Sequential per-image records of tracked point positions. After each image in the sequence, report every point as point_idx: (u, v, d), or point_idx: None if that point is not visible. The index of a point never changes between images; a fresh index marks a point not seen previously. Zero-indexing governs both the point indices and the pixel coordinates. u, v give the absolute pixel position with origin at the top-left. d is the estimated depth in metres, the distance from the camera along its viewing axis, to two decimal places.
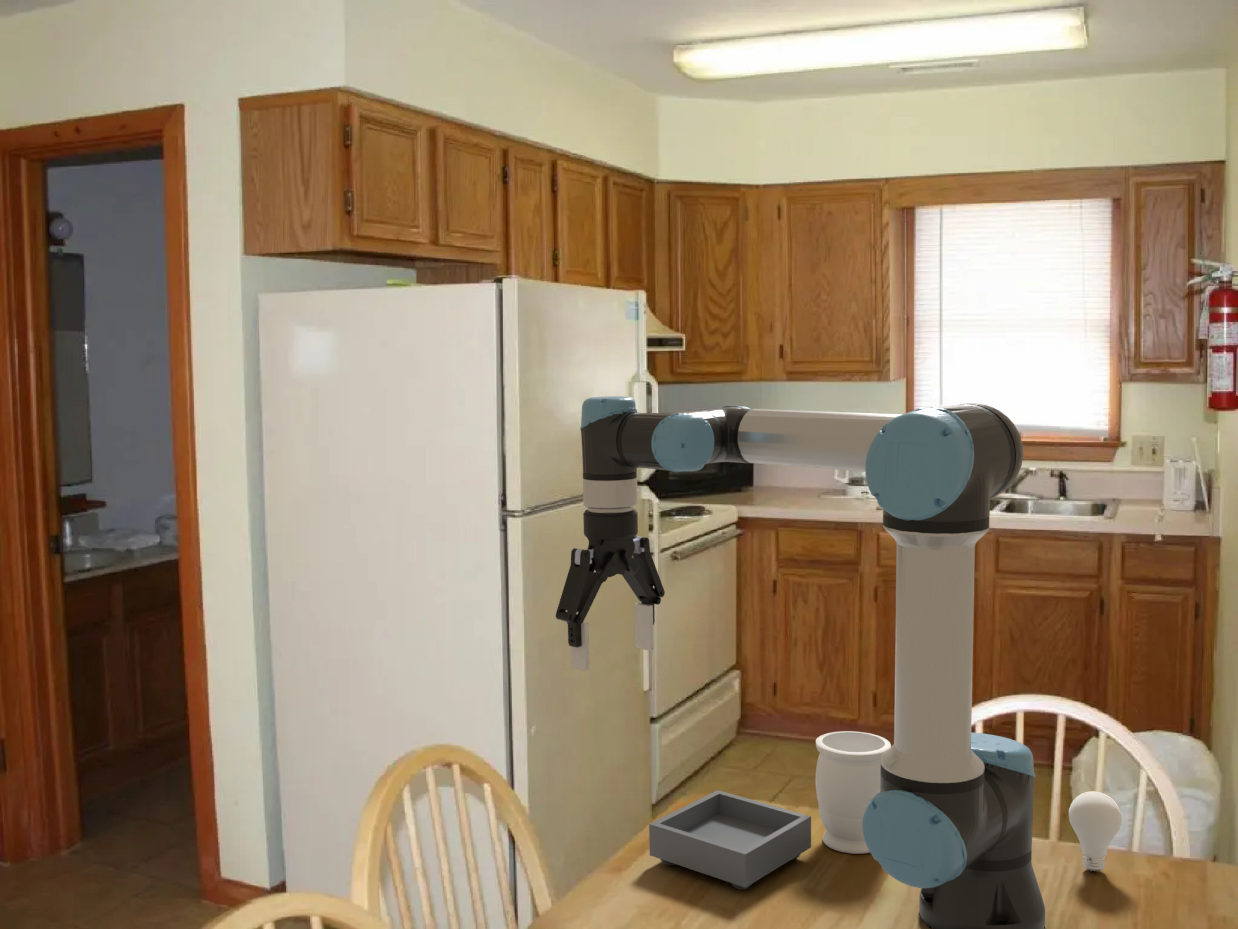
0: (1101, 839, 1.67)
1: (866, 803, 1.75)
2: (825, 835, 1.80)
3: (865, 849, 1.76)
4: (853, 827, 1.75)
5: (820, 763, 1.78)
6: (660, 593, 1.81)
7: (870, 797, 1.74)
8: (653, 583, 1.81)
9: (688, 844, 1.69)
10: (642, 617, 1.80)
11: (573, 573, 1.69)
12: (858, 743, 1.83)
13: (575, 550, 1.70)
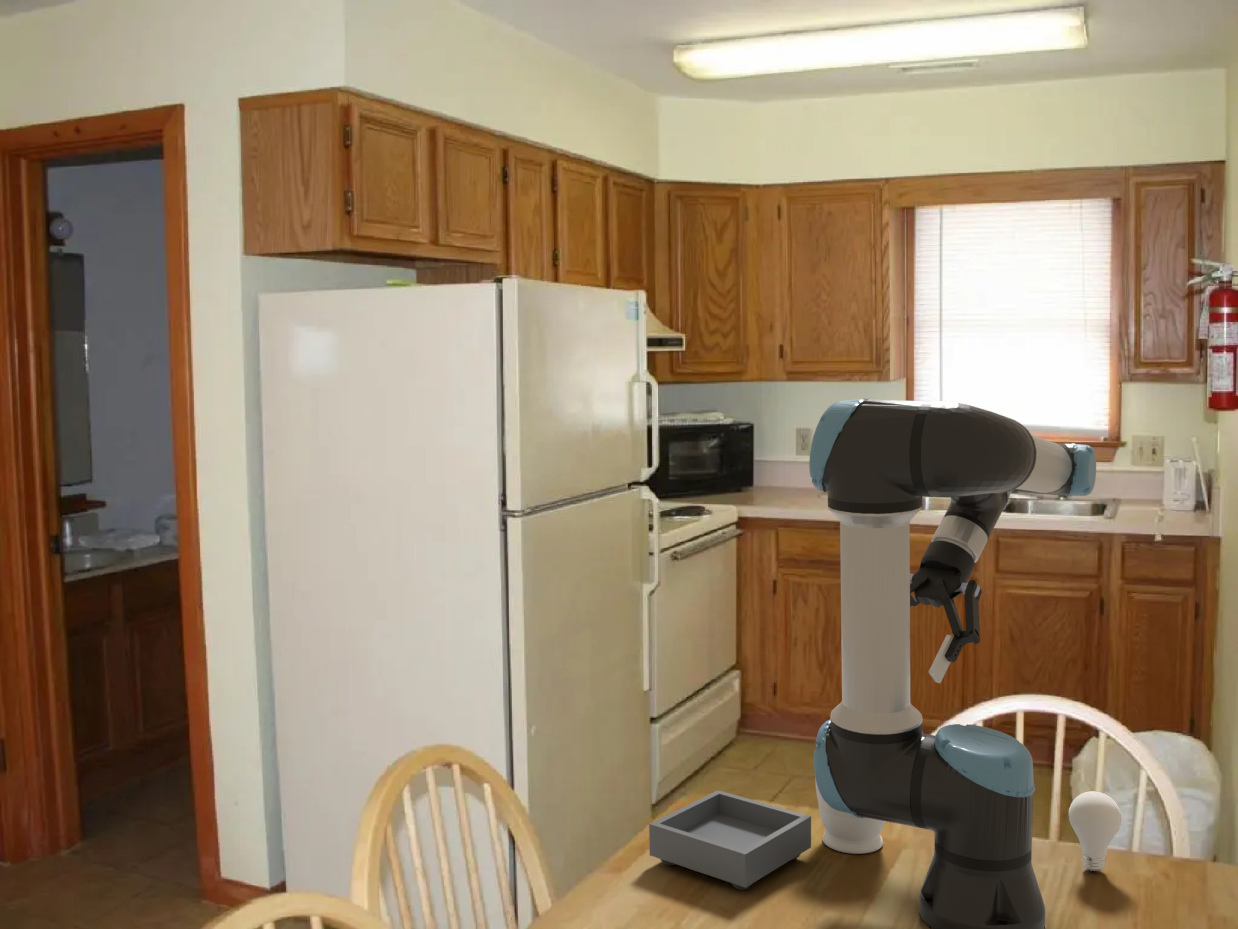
0: (1101, 839, 1.67)
1: None
2: (825, 835, 1.80)
3: (865, 849, 1.76)
4: (853, 827, 1.75)
5: None
6: (967, 630, 1.80)
7: None
8: None
9: (688, 844, 1.69)
10: None
11: None
12: None
13: None
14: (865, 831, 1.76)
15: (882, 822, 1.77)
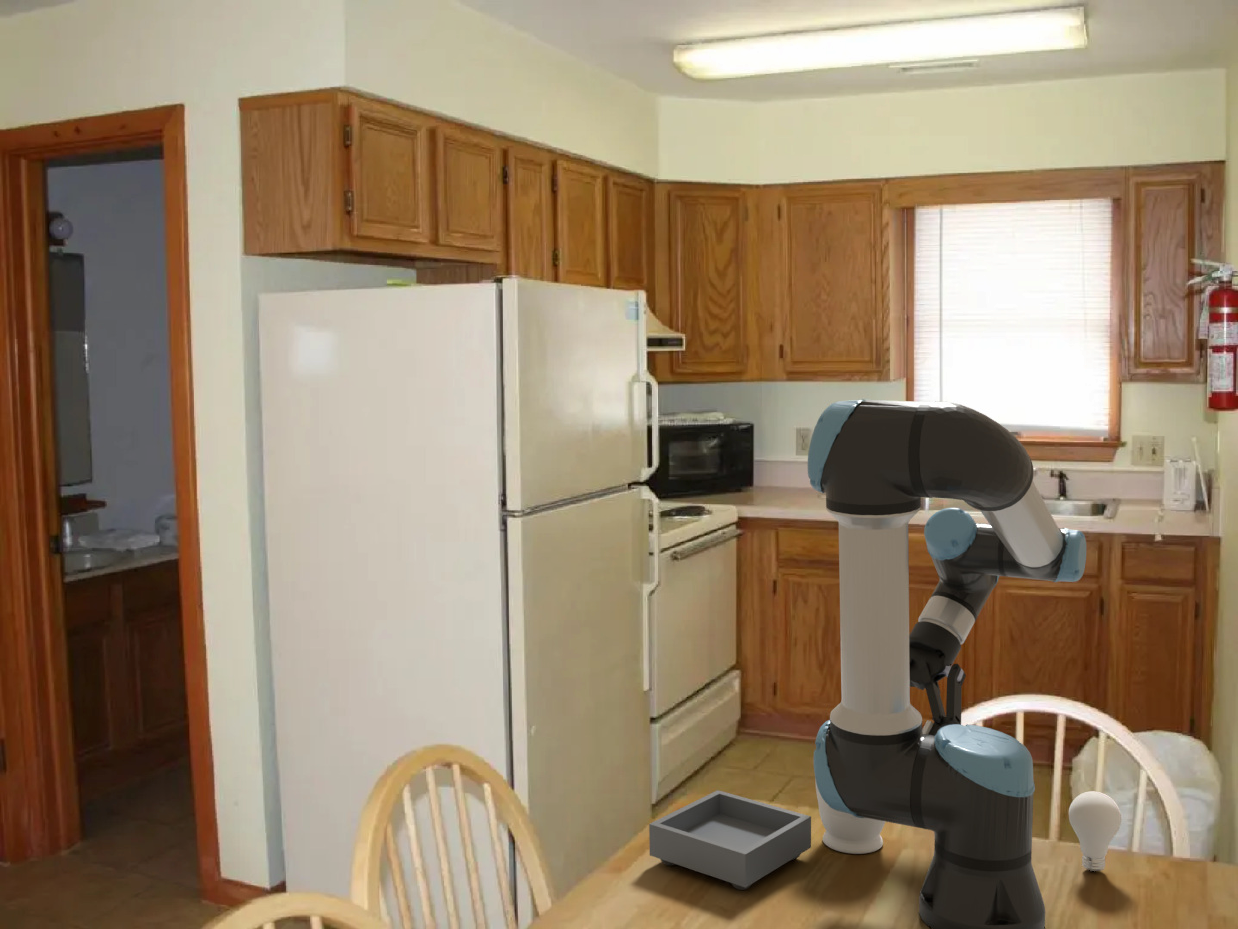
0: (1101, 839, 1.67)
1: None
2: (825, 835, 1.80)
3: (865, 849, 1.76)
4: (853, 827, 1.75)
5: None
6: (947, 717, 1.78)
7: None
8: None
9: (688, 844, 1.69)
10: None
11: None
12: None
13: None
14: (865, 831, 1.76)
15: (882, 822, 1.77)
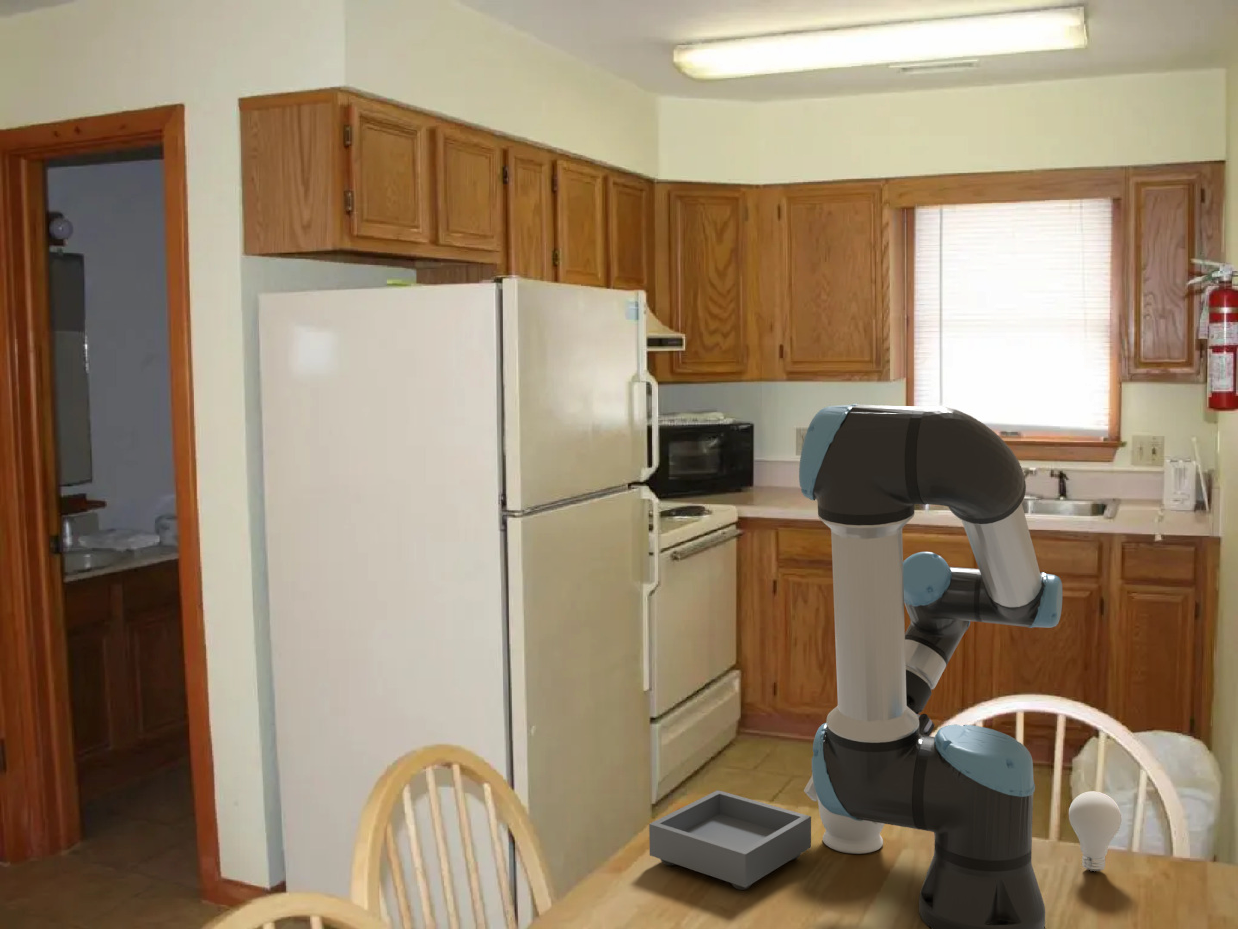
0: (1101, 839, 1.67)
1: None
2: (825, 835, 1.80)
3: (865, 849, 1.76)
4: (853, 826, 1.75)
5: None
6: None
7: None
8: None
9: (688, 844, 1.69)
10: None
11: None
12: None
13: None
14: (865, 831, 1.76)
15: None
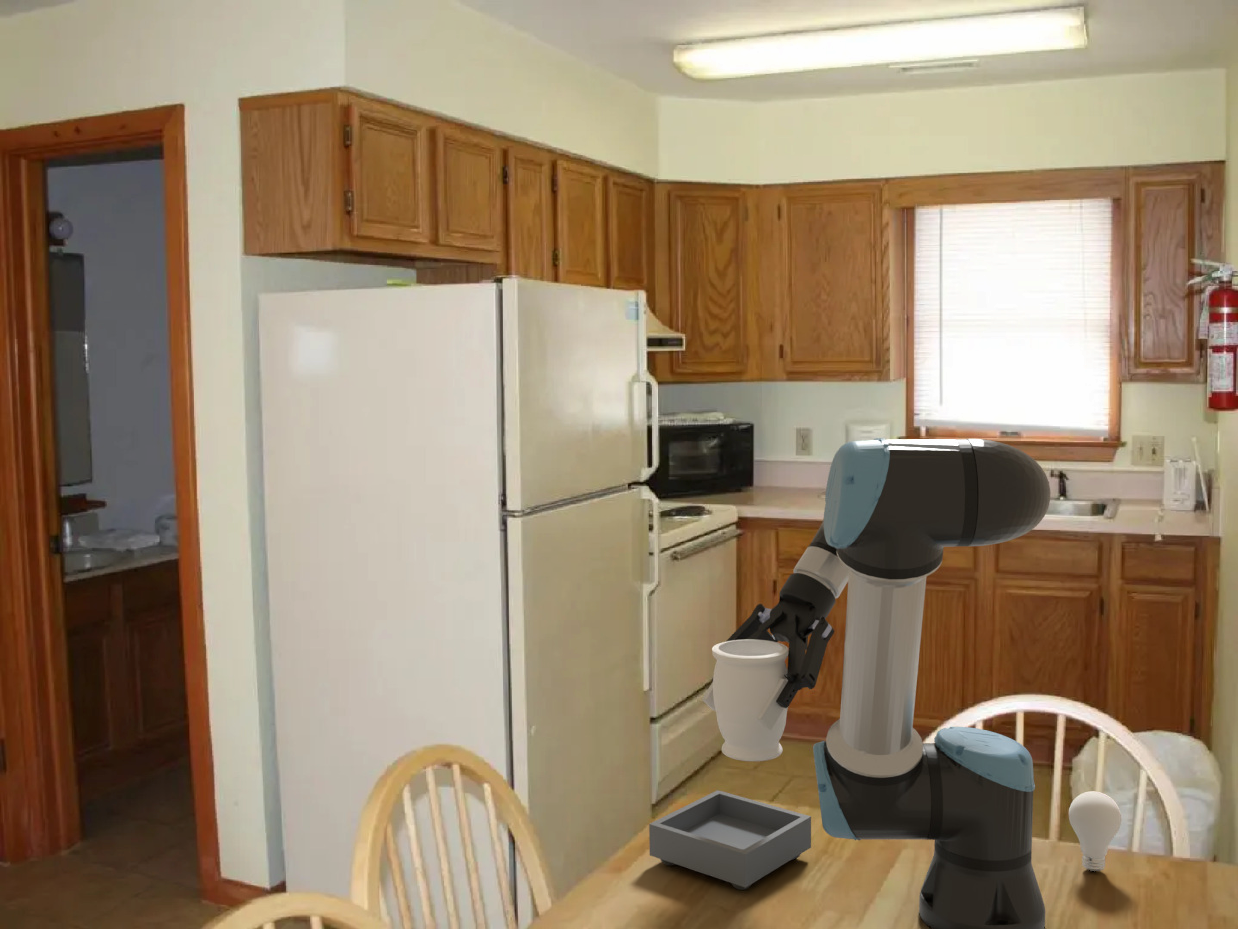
0: (1101, 839, 1.67)
1: (760, 708, 1.70)
2: (723, 744, 1.76)
3: (761, 756, 1.72)
4: (747, 733, 1.71)
5: (715, 669, 1.74)
6: (800, 674, 1.69)
7: (764, 702, 1.70)
8: None
9: (688, 844, 1.69)
10: None
11: None
12: (759, 652, 1.79)
13: None
14: (760, 738, 1.71)
15: (779, 729, 1.72)
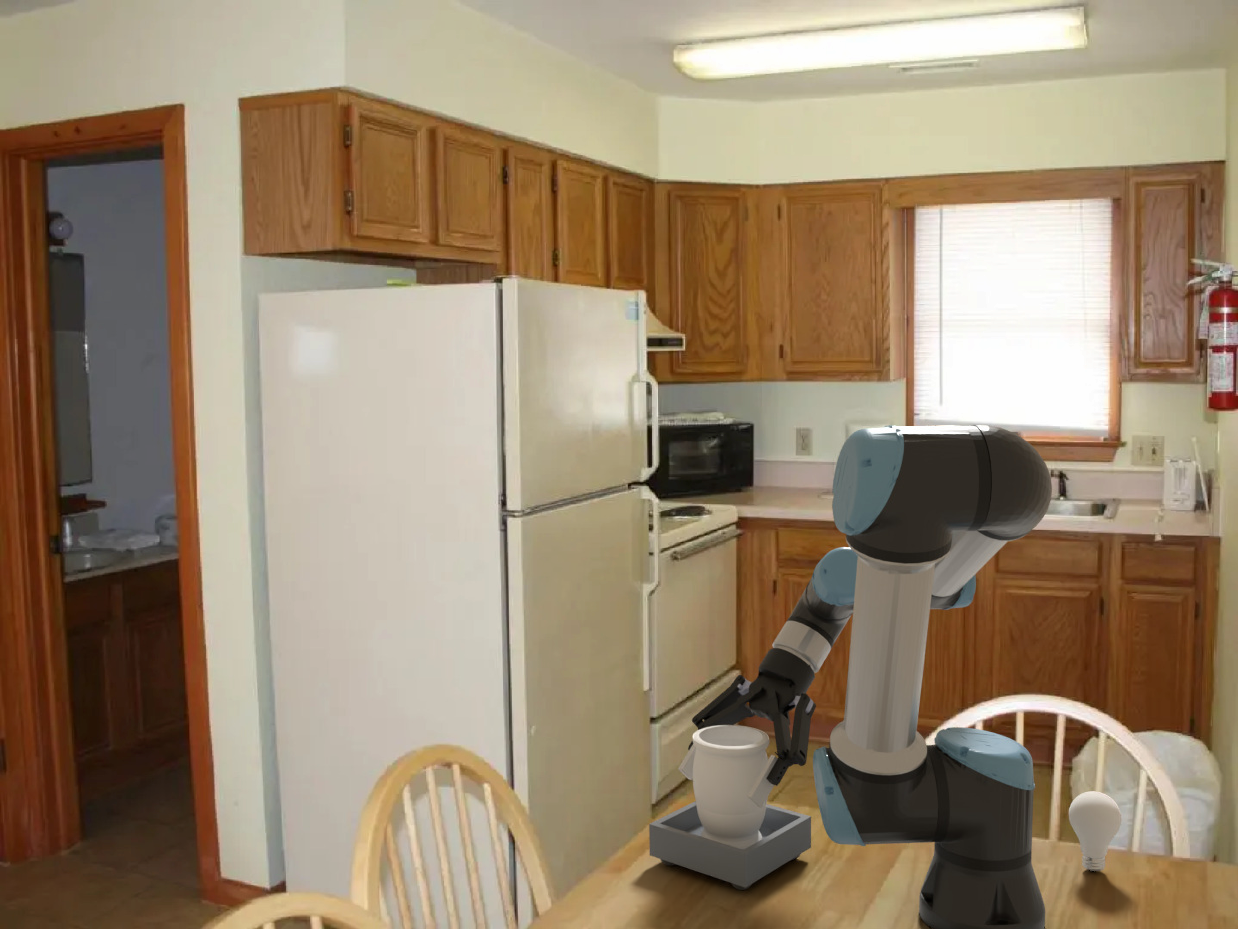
0: (1101, 839, 1.67)
1: (741, 799, 1.69)
2: (703, 832, 1.75)
3: (741, 847, 1.71)
4: (728, 823, 1.70)
5: (696, 758, 1.72)
6: (791, 751, 1.67)
7: (745, 792, 1.69)
8: None
9: (688, 844, 1.69)
10: None
11: None
12: (739, 738, 1.77)
13: None
14: (741, 828, 1.70)
15: (759, 819, 1.71)
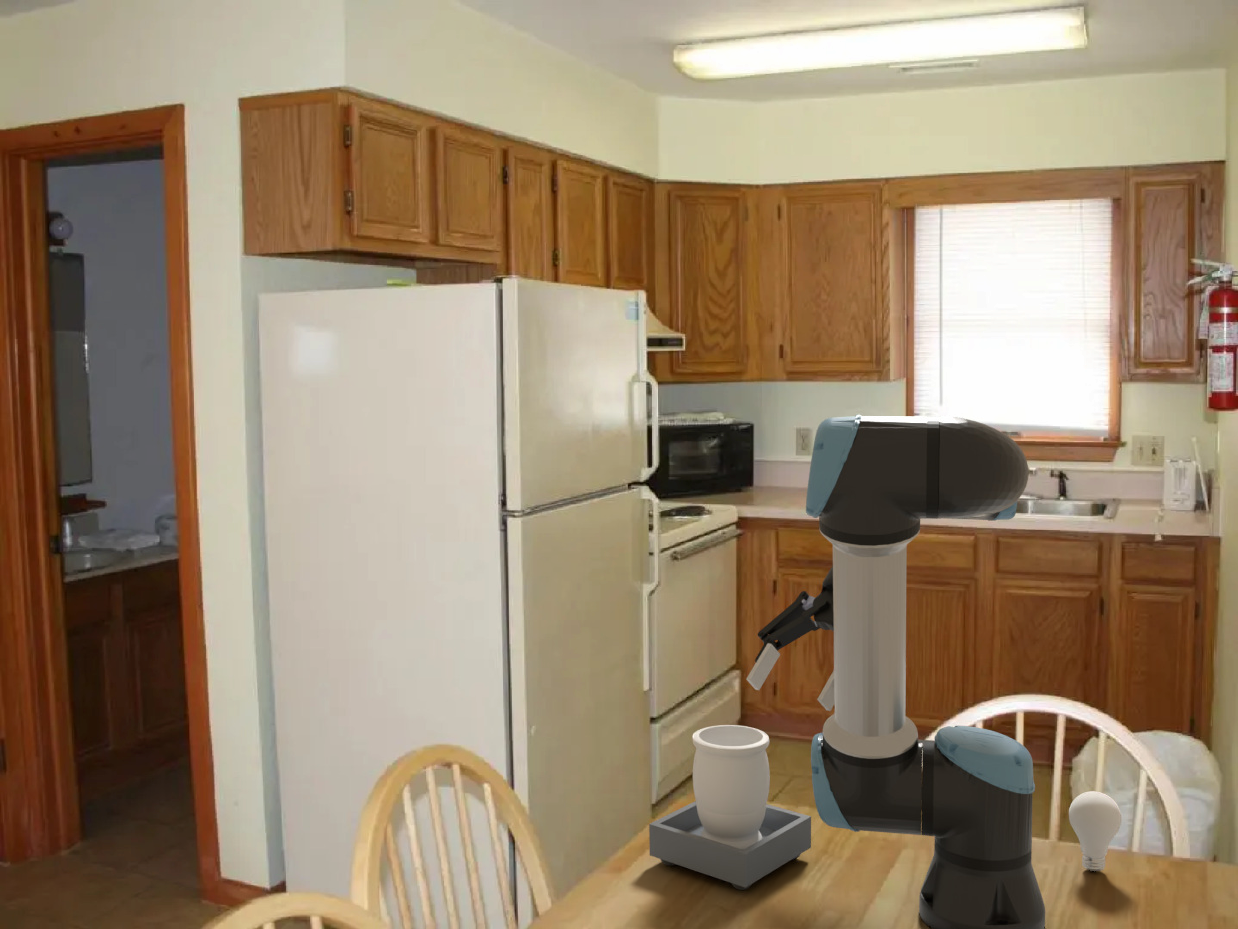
0: (1101, 839, 1.67)
1: (741, 799, 1.69)
2: (703, 832, 1.75)
3: (741, 847, 1.71)
4: (728, 823, 1.70)
5: (696, 758, 1.72)
6: None
7: (745, 792, 1.69)
8: None
9: (688, 844, 1.69)
10: None
11: None
12: (739, 738, 1.77)
13: None
14: (741, 828, 1.70)
15: (759, 819, 1.71)
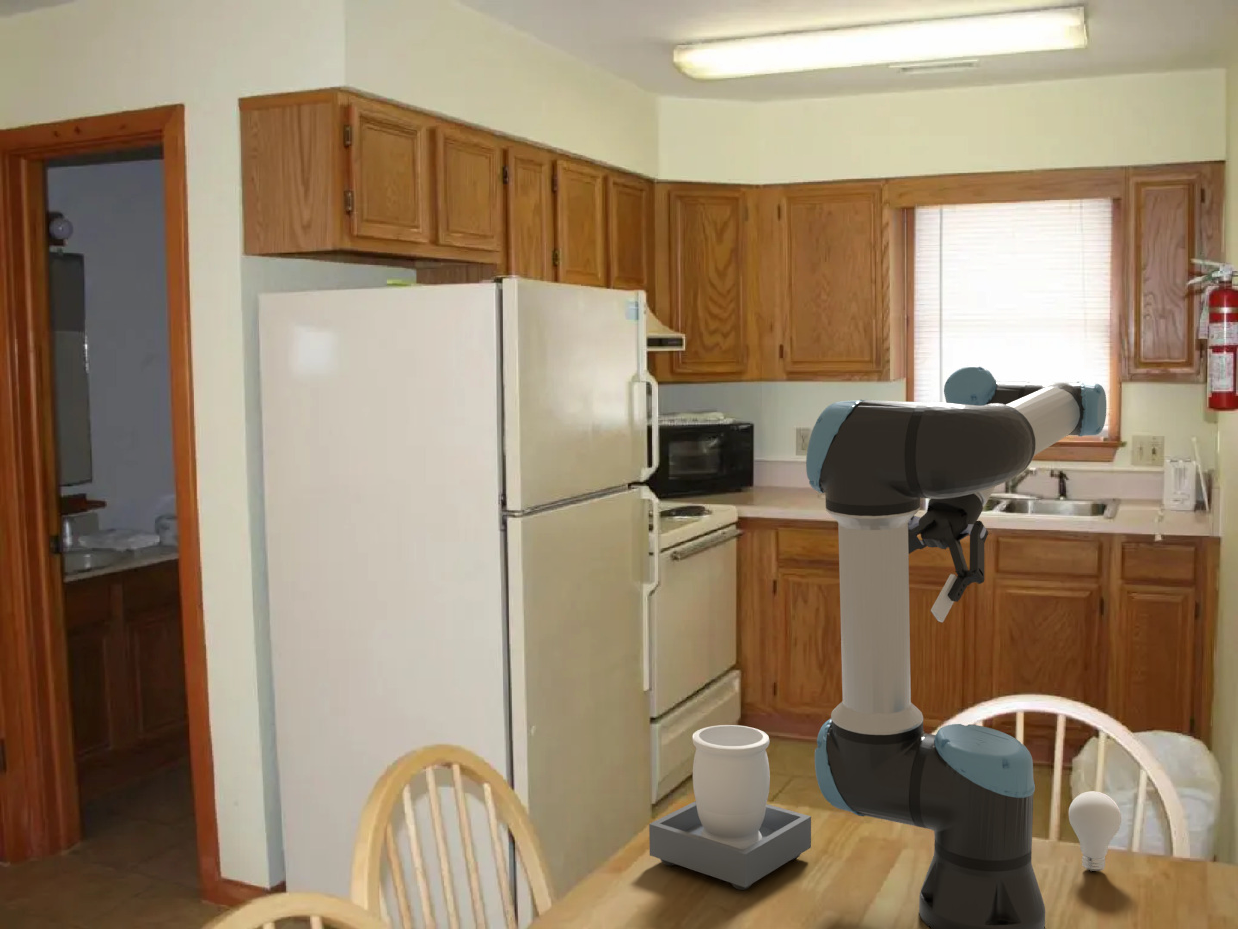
0: (1101, 839, 1.67)
1: (741, 799, 1.69)
2: (703, 832, 1.75)
3: (741, 847, 1.71)
4: (728, 823, 1.70)
5: (696, 758, 1.72)
6: (971, 569, 1.78)
7: (745, 792, 1.69)
8: None
9: (688, 844, 1.69)
10: None
11: None
12: (739, 738, 1.77)
13: None
14: (741, 828, 1.70)
15: (759, 819, 1.71)
